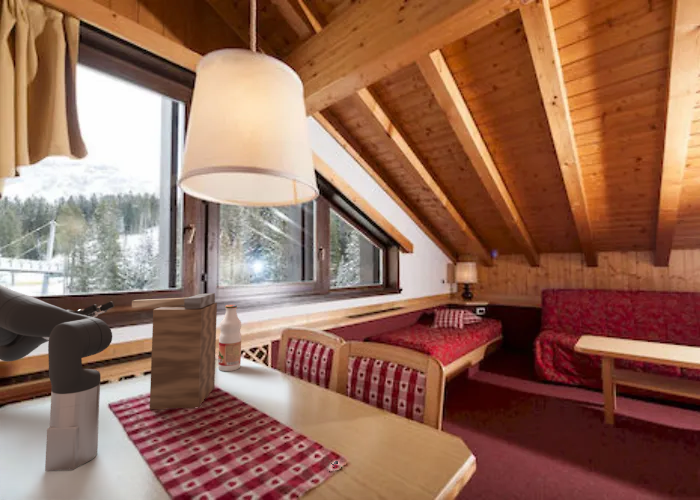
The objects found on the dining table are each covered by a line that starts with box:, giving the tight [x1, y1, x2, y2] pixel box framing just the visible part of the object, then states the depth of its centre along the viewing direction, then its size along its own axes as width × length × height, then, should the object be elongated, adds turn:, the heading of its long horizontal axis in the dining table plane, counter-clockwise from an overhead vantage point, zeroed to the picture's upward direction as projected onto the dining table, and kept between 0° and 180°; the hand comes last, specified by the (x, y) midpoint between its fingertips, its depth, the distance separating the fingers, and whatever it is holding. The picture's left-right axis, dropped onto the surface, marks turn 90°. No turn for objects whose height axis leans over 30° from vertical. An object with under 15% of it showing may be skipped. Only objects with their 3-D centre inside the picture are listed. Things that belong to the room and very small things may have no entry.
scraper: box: [131, 292, 216, 309], centre depth 119 cm, size 16×25×4 cm, turn 95°
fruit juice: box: [217, 304, 242, 372], centre depth 152 cm, size 9×9×28 cm
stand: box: [149, 302, 218, 410], centre depth 119 cm, size 18×15×32 cm
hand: (105, 305), depth 117 cm, fingers open, 8 cm apart
